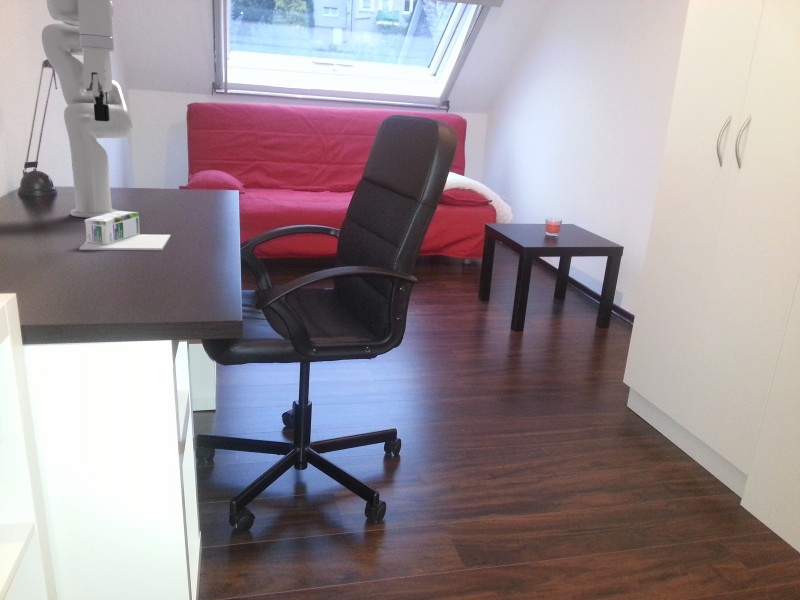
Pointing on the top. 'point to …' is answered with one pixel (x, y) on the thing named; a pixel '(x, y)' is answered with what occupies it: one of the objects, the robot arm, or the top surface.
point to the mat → (131, 243)
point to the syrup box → (111, 227)
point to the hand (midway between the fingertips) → (102, 120)
